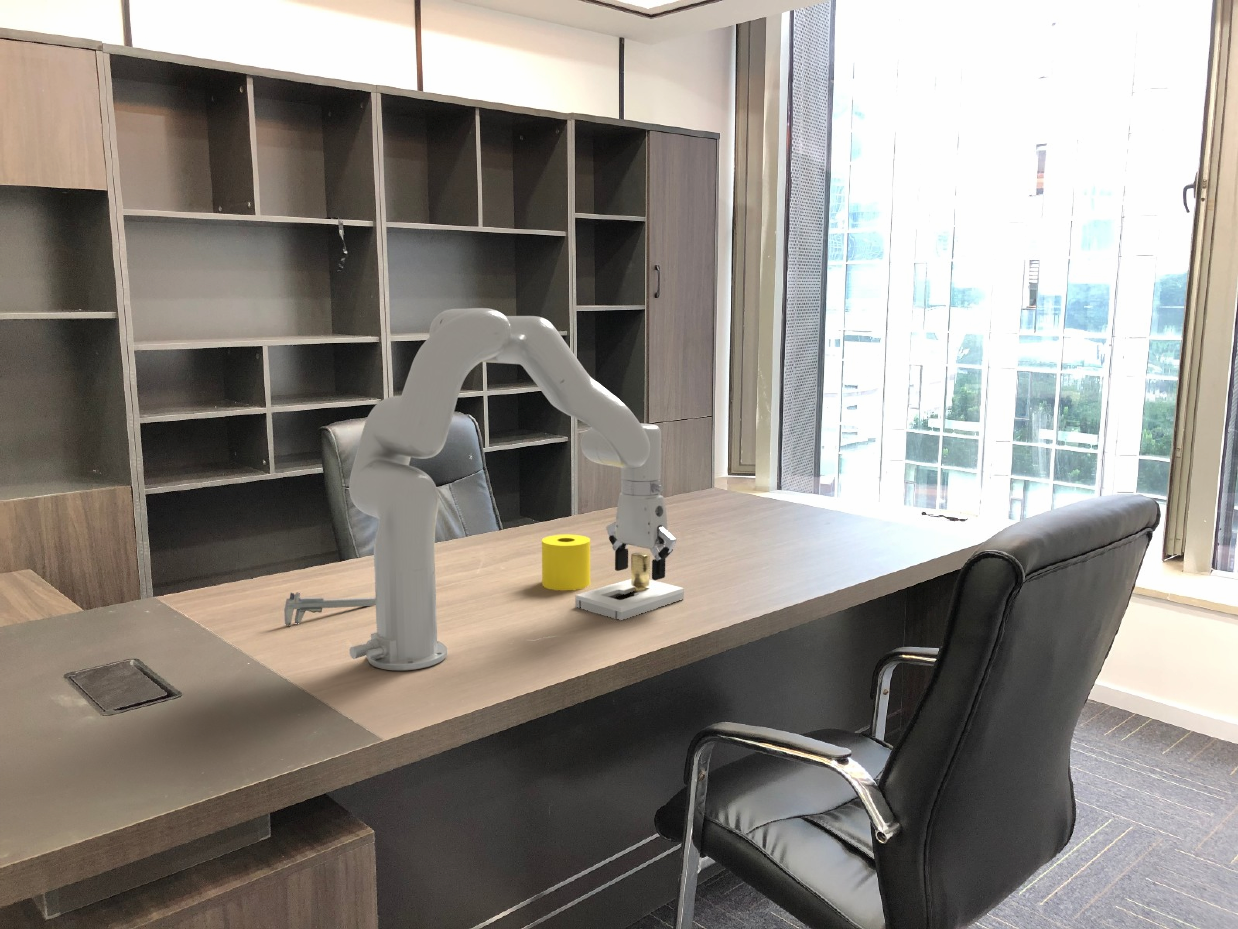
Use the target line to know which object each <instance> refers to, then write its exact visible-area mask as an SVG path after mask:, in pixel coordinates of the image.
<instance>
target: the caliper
mask: <svg viewBox="0 0 1238 929" xmlns="http://www.w3.org/2000/svg"><path fill="white" fill-rule="evenodd" d="M289 594H290V595H289V598H286V601H285V605H284V612H283V613H284V625H285V624H286V625H285V626H287V625H288V626H287V627H289V625H291V626H292V621H293V620H292V619H293V616H294V610H295V616H294V623H297V624H298V623H300V624H301V623H302V620H303V618H304V615H305V613H306V612H310V613H321V614H322V611H323V609H333V608H352V607H353V608H358V607H361V608H362V607H373V606H376V597H355V598H354V597H352V598H331V599H329V598H327V599H324V598H323V597H320V596H316V597H301V596H300V595H301V594H300V592H296V593H293V592H290V593H289Z"/></svg>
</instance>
